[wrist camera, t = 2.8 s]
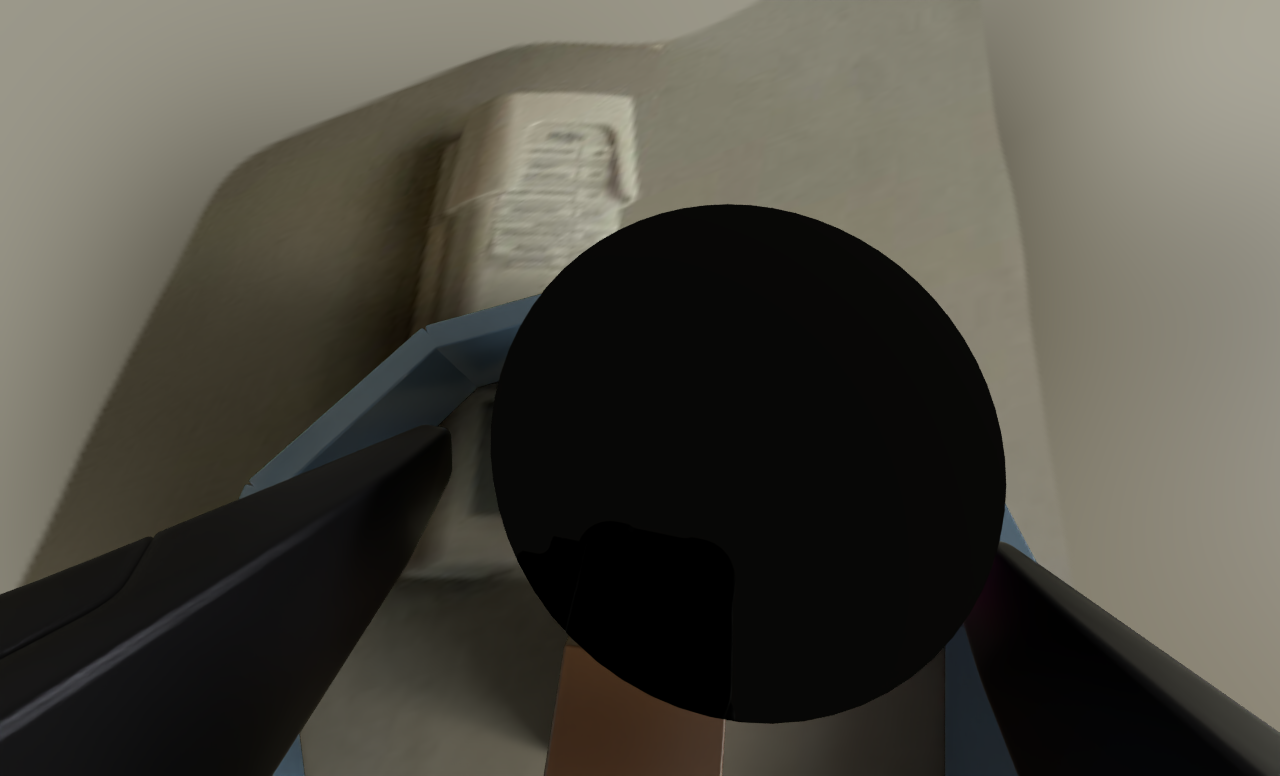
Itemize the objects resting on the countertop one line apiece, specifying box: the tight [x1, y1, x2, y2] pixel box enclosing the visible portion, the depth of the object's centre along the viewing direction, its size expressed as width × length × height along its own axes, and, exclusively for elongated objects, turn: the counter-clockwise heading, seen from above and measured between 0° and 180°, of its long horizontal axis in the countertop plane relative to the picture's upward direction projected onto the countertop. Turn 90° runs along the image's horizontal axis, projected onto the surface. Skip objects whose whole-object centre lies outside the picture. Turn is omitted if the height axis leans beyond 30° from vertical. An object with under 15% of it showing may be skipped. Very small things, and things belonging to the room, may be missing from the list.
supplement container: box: [491, 204, 1006, 724], centre depth 11 cm, size 7×7×10 cm
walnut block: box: [544, 636, 726, 776], centre depth 12 cm, size 4×4×4 cm
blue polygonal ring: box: [238, 294, 1037, 776], centre depth 12 cm, size 22×22×4 cm
